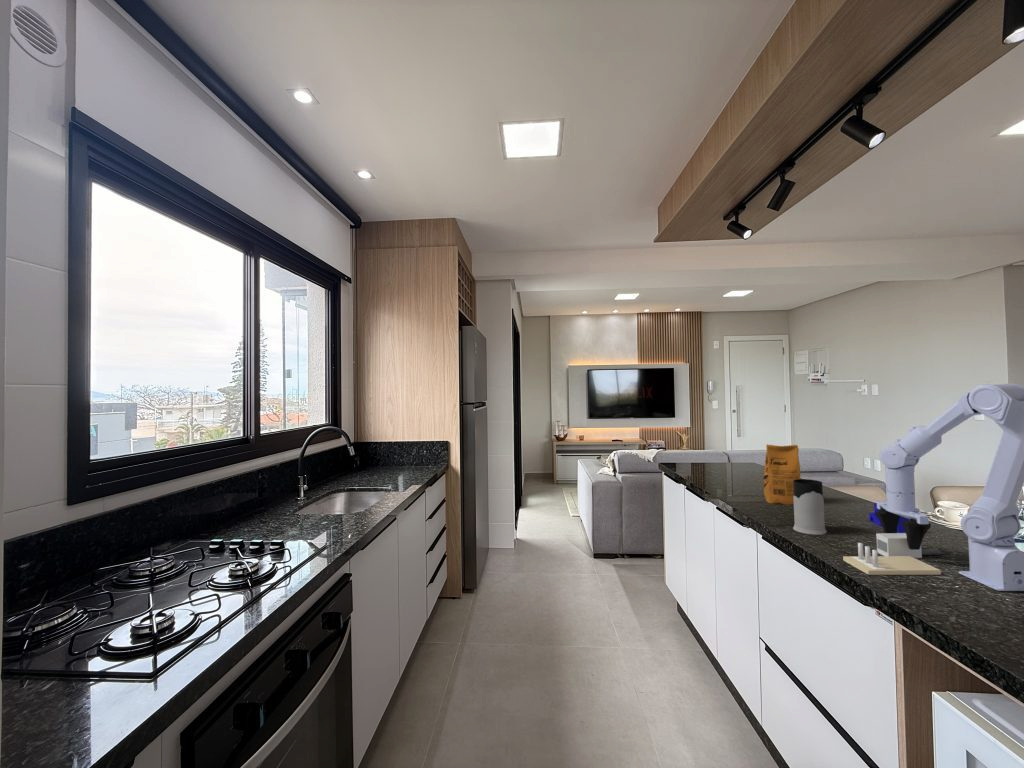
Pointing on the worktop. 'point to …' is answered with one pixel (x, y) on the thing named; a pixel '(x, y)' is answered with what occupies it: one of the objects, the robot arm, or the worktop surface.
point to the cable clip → (875, 520)
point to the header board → (889, 564)
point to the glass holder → (809, 507)
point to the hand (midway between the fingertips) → (902, 543)
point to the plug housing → (900, 546)
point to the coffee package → (781, 473)
